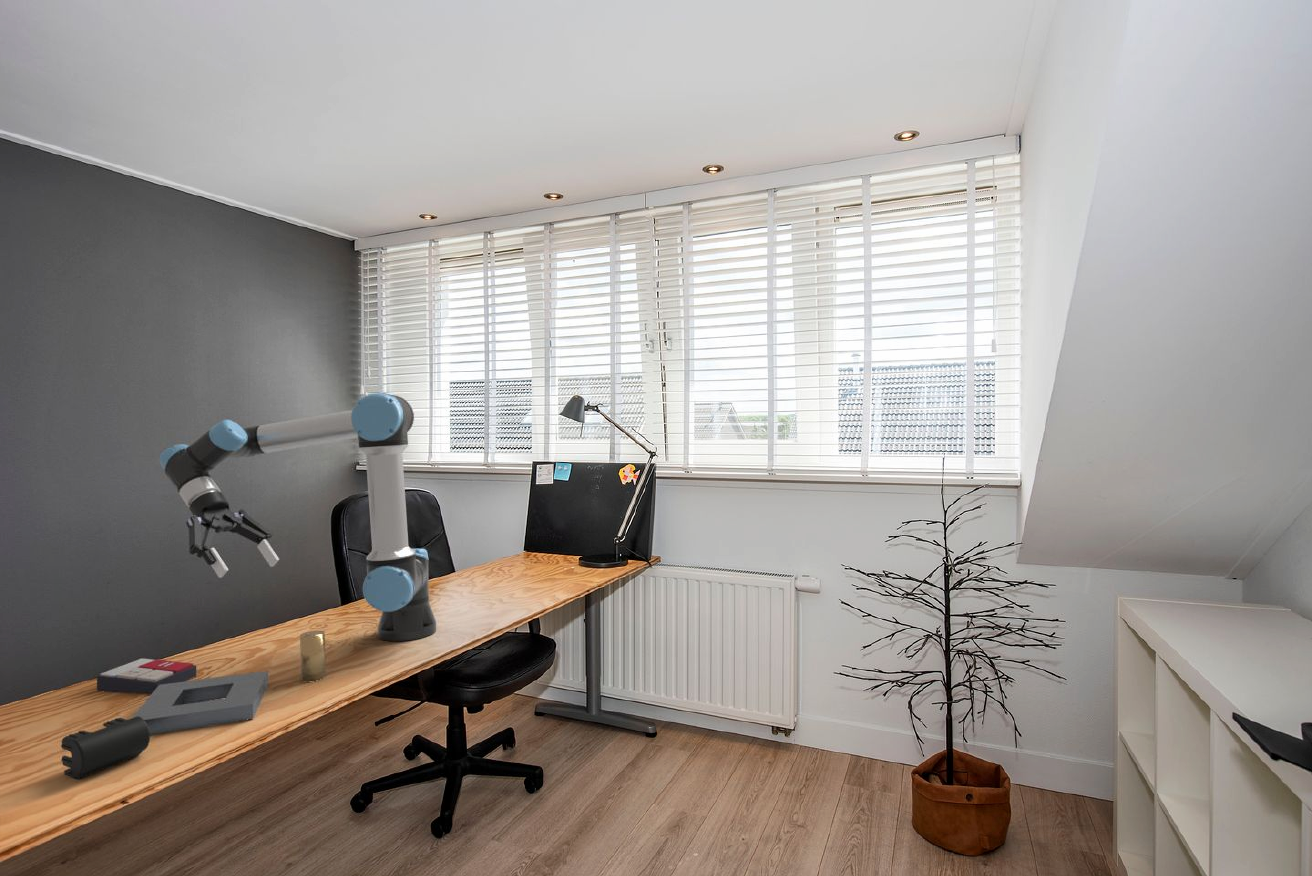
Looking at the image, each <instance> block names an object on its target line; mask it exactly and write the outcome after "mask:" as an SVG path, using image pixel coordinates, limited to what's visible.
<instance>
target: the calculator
mask: <svg viewBox="0 0 1312 876" xmlns="http://www.w3.org/2000/svg"><path fill="white" fill-rule="evenodd" d="M193 677H194V678H196V677H197V665H196V664H194V663H191V662H184V661H183V662H182V661H176V660H166V659H159V658H158V659H152V658H151V659H150V658H139V659H136V660H134V661H131V662H129V663H126V664H124V665H120V666H116V667H115V668H112V669H109V670H107V671H105V672H101V673H100V674H98V675H97V676H96V692H102V691H104V693H114V692H118V693H125V694H134V693H135V694H139V695H149V696H150V695H151V694H152V693H153V692H154V690H155V689H156V688H157V687H158V686H159V685H162V684H169V683H177V682H185V681H187V680H188V681H190V680H192V679H194V678H193ZM191 678H192V679H191ZM189 679H190V680H189Z"/></svg>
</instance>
